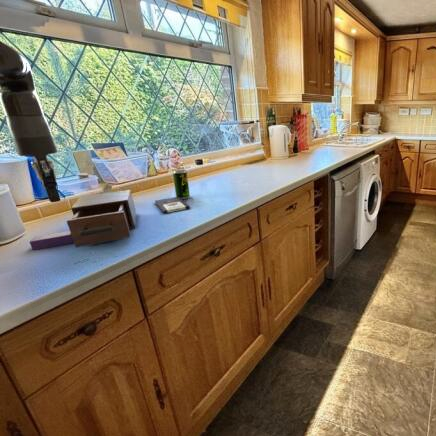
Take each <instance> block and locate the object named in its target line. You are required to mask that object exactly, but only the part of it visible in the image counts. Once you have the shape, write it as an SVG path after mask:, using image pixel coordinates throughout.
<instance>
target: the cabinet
mask: <svg viewBox="0 0 436 436" xmlns="http://www.w3.org/2000/svg"><path fill="white" fill-rule="evenodd" d="M120 203H125V205H126V209H127V212H128V216H129V219H130V226H129V230H133V229H136V227H137V218H138V214H137V210H136V206H135V203H134V198H133V195H132V192H131V189H126V190H117V191H111V192H109V193H101V194H100V193H93V194H86V195H81V196H80V197H79V198H78V199H77V200H76V202H75V203H74V204H73V205H72V207H71V208H70V209H71V212H72V214H73V216H74V215H75V214H76V213H77V211H78V210H79V209H85V208H92V207H99V206H106V205H113V204H120Z"/></svg>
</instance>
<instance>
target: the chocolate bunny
mask: <svg viewBox="0 0 436 436" xmlns="http://www.w3.org/2000/svg"><path fill="white" fill-rule="evenodd" d="M112 188H113V186H112V184H110V183H109V182H106V183H105V184H104V185H103V188H102V189H101V190H100V192H99V194H101V193H109V192H112Z"/></svg>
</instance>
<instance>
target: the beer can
mask: <svg viewBox="0 0 436 436" xmlns="http://www.w3.org/2000/svg"><path fill="white" fill-rule="evenodd" d="M172 177H173V183H174V184H173V185H174V191H175V197H180V198H181V199H182V200H186V199H189V198H190V196H191V194H190V186H189V185H190V184H189V179H188V171H187V169H186V168H177V169H173V170H172Z"/></svg>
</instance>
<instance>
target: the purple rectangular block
mask: <svg viewBox="0 0 436 436" xmlns="http://www.w3.org/2000/svg"><path fill="white" fill-rule="evenodd" d="M73 243H74V241H73V238H72V235H71V232H70V230H67V231H60V232H55V233H50V234H49V233H48V234H44V235H43V234H42V235H38V236H37V235H36V236H33V237H32V238H31V240H30V241H29V244H30V247H31V249H32V251H35V250H41V249H47V248H52V247H58V246H63V245H69V244H73Z"/></svg>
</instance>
